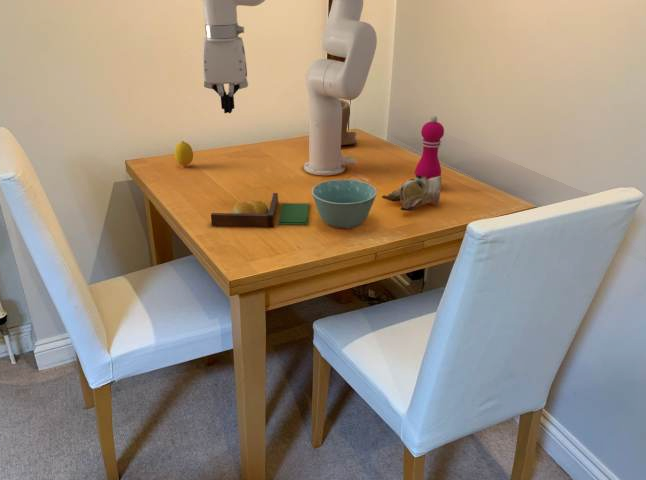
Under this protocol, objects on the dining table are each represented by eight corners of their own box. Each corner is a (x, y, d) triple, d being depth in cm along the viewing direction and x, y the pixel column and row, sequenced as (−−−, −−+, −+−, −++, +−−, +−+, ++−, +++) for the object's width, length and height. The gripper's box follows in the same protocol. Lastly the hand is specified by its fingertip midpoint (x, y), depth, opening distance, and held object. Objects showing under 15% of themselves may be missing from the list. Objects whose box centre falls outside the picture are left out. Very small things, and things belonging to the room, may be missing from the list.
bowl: (328, 239, 135) (329, 206, 131) (301, 215, 148) (301, 184, 144) (386, 228, 141) (389, 196, 137) (356, 205, 153) (357, 175, 149)
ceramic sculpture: (453, 176, 147) (403, 188, 142) (451, 207, 151) (401, 220, 147) (429, 164, 155) (380, 174, 151) (427, 194, 160) (380, 205, 155)
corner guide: (278, 203, 154) (277, 192, 153) (273, 227, 141) (272, 215, 140) (221, 202, 155) (221, 191, 153) (211, 226, 142) (210, 213, 140)
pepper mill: (441, 185, 166) (451, 114, 156) (435, 193, 161) (444, 120, 151) (417, 181, 169) (424, 111, 159) (410, 189, 163) (417, 117, 153)
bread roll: (273, 219, 145) (273, 204, 143) (239, 225, 142) (239, 210, 140) (261, 207, 152) (260, 193, 150) (228, 213, 148) (227, 198, 146)
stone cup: (319, 151, 193) (320, 105, 185) (311, 141, 203) (312, 97, 195) (363, 149, 196) (365, 103, 188) (353, 139, 206) (355, 95, 198)
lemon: (192, 169, 177) (189, 144, 173) (174, 169, 177) (171, 143, 173) (195, 164, 182) (193, 138, 178) (178, 163, 182) (175, 138, 178)
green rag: (308, 204, 154) (308, 202, 153) (306, 225, 142) (306, 223, 142) (282, 204, 154) (282, 202, 154) (278, 224, 143) (278, 222, 142)
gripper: (255, 29, 138) (259, 107, 148) (193, 30, 139) (201, 108, 148) (252, 34, 132) (256, 115, 142) (186, 35, 132) (195, 116, 142)
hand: (228, 111), depth 145 cm, fingers closed
